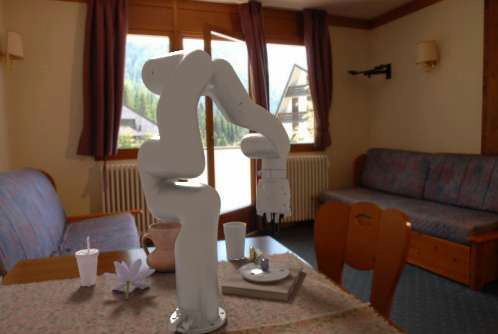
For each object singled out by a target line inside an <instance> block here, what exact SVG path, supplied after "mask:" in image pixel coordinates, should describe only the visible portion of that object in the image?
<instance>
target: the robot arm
mask: <svg viewBox="0 0 498 334" xmlns="http://www.w3.org/2000/svg"><path fill="white" fill-rule="evenodd" d="M233 67H234V66H232V64H231V62H229V61H228V60H226V59H223V58H212V57H211V55H210V54H209V53H208V52H206V51H205V50H202V49H199V48H198V49H195V48H193V49H186V50H185V49H183V50H178V51H174V52H170V53H166V54H160V55H157V56H156V55H155V56H153V57H150V58H148V59H147V60H146V61H145V63H144V64H143V66H142V67H141V68H142V69H141V72H140V73H141V80H142V83H143V85H144V87H145V88H146V89H147V90H148V91H150V92H151V94H152V93H153V94H154V95H157V96H159V98H158V101H157V105H156V110H155V115H156V117H155V118H156V125H157V128H158V134H159V136H153V137H149V138H147V139H146V140H144V141H143V142H142V144H141V145H140V147H139V148H138V152H137V156H136V157H137V159H136V164H137V171H138V175H139V178H140V179H139V180H140V182H141V187H142V190H143V195H144V198H145V201H146V205H147V208H148V211H149V213H150V214H151V216H152V217H153V218H154V219H156V220H158V221H160V222H170V223H177V224H181V225H182V228H181V230H180V232H179V234H178V236H177V239H176V242H175V270H176V271H175V295H176V296H175V297H176V309H175V311H174V312H173V313H172V314H171V315H170V317H169V324H168V325H167V326H168V327H167V328H168V330H169V331H170V332H171V333H172V332H173V333H174V332H175V333H176V332H178V333H182V334H206V333H211V332H213V331H215V330H218V329H219V328H221V327H222V326H223V325H224V324H225V322H226V321H227V315H226V314H227V313H226V311H225V310H224V309H223V308H222V307H220V302H219V301H220V300H219V299H220V297H219V296H220V295H219V292H220V291H219V261H218V260H219V257H218V256H219V255H218V228H219V219H220V215H221V208H222V207H221V206H222V201H221V196H220V194H219V192H218V191H217V189H215V187H213V186H211V185H209V184H206V183H203V182H193V181H192V182H190V181H189V182H188V181H182V182H181V181H176V180H193V179H197V178H199V177H200V176H202V175H203V174H204V172H205V169H206V155H205V149H204V144H203V139H202V134H201V129H200V123H199V116H198V106H199V102H200V99H201V97H207V96H208V97H209V98H210V99H211V101H212V102H213V103H214V104H215V106H216V108H217V109H218V110H219V112H220V115H222V117H223V118H224V120H225V121H226V122H228V123H230V124H232V125H235V126H237V127H239V128H242V129H246V130H250V131H253V132H251V133H248V134H246V135H244V136H243V138H242V139H241V140H240V144H239V145H240V147H239V148H240V151H241V153H242V154H243V155H244V156H245V157H246V158H248V159H253V160H254V159H255V160H256V159H257V160H261V169H260V170H257V172H256V173H257V175H256V176H260V177H261V179H258V183H257V188H256V189H257V190H256V199H255V204H256V205H255V209H256V215H257V216H261V217H263V218H264V219H266V222H267V224H268V232H269V235H270V236H273V237H276V236H277V235H278V234H279V233H280V222H281V220H282V219H284V218H289V217H291V216H292V210H291V208H292V199H291V198H292V197H291V188H290V187H291V186H290V182H289V181H290V180H289V179H287V156H288V155H289V153H290V150H291V140H290V136H289V134H288V132H287V130H286V129H285V127H284V125H283V122H282V121H281V119H279V118H278V117H277V116H276V115H275V114H274V113H272V112H270V111H269V110H267V109H266V108H265V107H263V106H261V105H259V104H258V103H255V102H254V101H253V100H252V98H251V96H250V94H249V93H248V91H247V89H246V87H245V86H244V84H243V82H242V81H241V79H240V77H239V76H238V74H237V72H236V71H235V69H234V68H233ZM273 214H274V217H273Z"/></svg>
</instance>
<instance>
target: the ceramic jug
mask: <svg viewBox="0 0 498 334" xmlns="http://www.w3.org/2000/svg"><path fill="white" fill-rule="evenodd" d="M181 228H182V225H181V224H177V223H170V222H164V221H160V222H155V223H151V224H150V225H149V226H148V231H149V232H146V233H144V234H143V235H142V237H141V246H142V249H143V252H144V253H145V256H146V259H145V263H146V265H147V267H148V268H149V269H155V271H156V272H163V273H168V272H176V270H175V242H176V239H177V236H178V234H179V232H180V230H181ZM147 238H148V239H149V240H151V241H152V244H153V245H154V249H153V250H152V251H150V250H149V249H148V248H149V247H148V246H147Z"/></svg>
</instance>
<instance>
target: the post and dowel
mask: <svg viewBox="0 0 498 334" xmlns="http://www.w3.org/2000/svg"><path fill="white" fill-rule="evenodd" d="M255 249H256V248H255V247H254V246H249V249H248V250H249V253H248V254H249V260H250V263H254V262H255ZM269 262H270V259H269V258H267V257H263V258H262V259H261V269H263V270H267V269H269Z"/></svg>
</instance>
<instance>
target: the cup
mask: <svg viewBox="0 0 498 334" xmlns="http://www.w3.org/2000/svg"><path fill="white" fill-rule="evenodd" d="M222 225H223V234H224V242H225V250H226V251H225V252H226V257H225V258H226V260H227V259H229V260H228V261H230V260H235V259H242V258H244V259H245V251H246V249H245V248H246V232H247V223H246V222H241V221H230V222H226V223H223V224H222Z"/></svg>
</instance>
